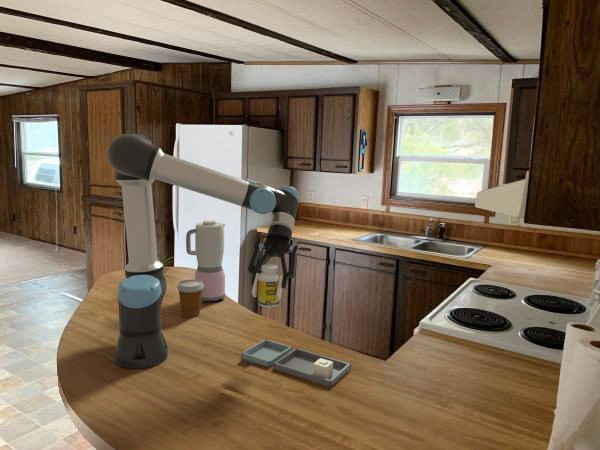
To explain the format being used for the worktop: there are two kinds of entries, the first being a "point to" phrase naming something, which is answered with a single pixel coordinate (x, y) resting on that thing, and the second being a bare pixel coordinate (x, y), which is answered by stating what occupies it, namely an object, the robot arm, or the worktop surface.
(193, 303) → the disposable coffee cup
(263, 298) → the pill bottle
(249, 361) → the slate tray
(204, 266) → the blender
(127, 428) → the worktop surface
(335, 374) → the charcoal tray
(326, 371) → the letter cube
